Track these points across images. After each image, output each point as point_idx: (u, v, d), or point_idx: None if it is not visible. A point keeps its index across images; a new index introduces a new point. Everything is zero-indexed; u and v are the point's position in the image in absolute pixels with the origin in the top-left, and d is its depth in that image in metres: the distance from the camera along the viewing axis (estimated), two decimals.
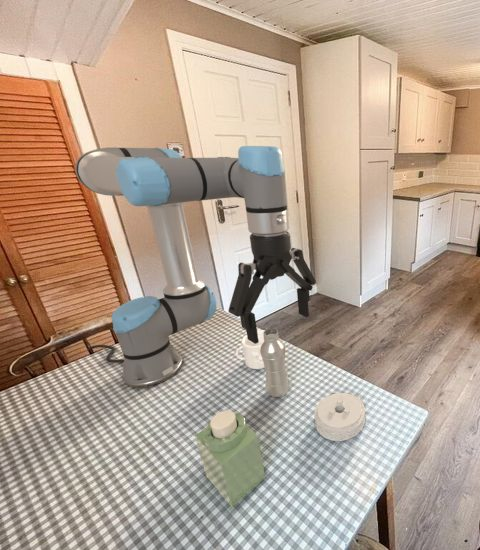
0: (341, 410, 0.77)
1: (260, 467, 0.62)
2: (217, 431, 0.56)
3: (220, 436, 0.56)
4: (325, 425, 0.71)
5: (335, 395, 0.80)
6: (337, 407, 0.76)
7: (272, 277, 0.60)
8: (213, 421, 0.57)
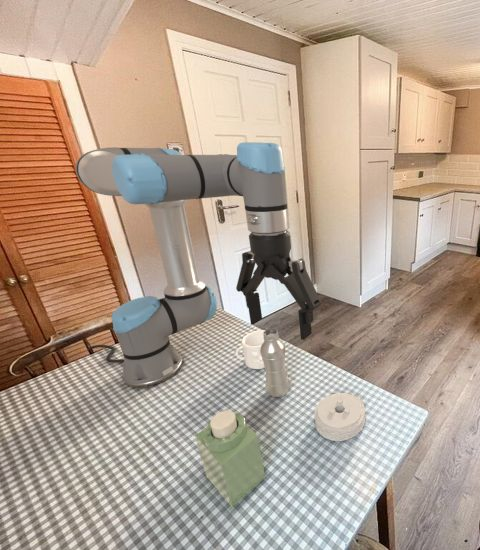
0: (341, 410, 0.77)
1: (260, 467, 0.62)
2: (217, 431, 0.56)
3: (220, 436, 0.56)
4: (325, 425, 0.71)
5: (335, 395, 0.80)
6: (337, 407, 0.76)
7: (265, 275, 0.60)
8: (213, 421, 0.57)
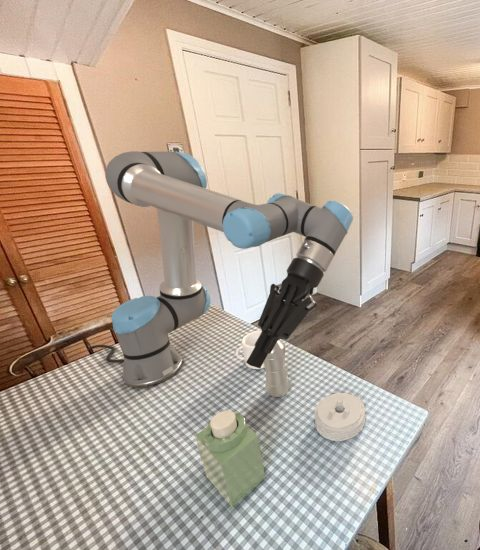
0: (341, 410, 0.77)
1: (260, 467, 0.62)
2: (217, 431, 0.56)
3: (220, 436, 0.56)
4: (325, 425, 0.71)
5: (335, 395, 0.80)
6: (337, 407, 0.76)
7: None
8: (213, 421, 0.57)
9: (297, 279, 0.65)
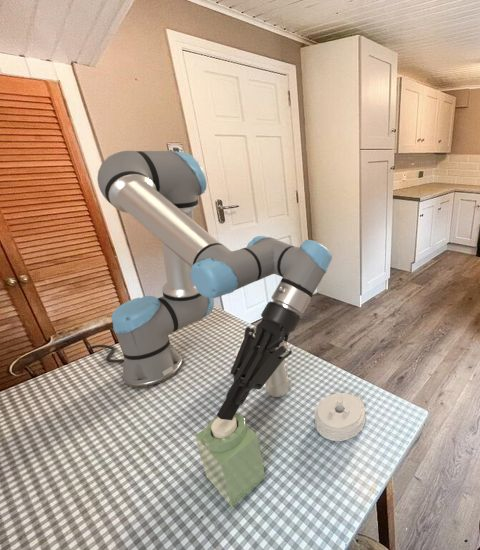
0: (341, 410, 0.77)
1: (260, 467, 0.62)
2: (218, 435, 0.56)
3: None
4: (325, 425, 0.71)
5: (335, 395, 0.80)
6: (337, 407, 0.76)
7: None
8: (214, 425, 0.58)
9: (272, 324, 0.62)
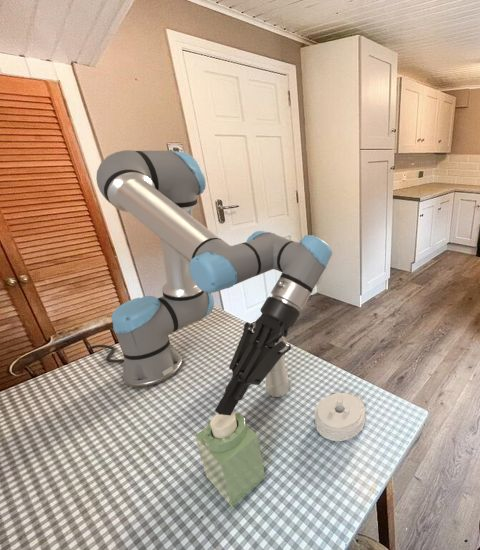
0: (341, 410, 0.77)
1: (260, 467, 0.62)
2: (217, 431, 0.56)
3: (220, 436, 0.56)
4: (325, 425, 0.71)
5: (335, 395, 0.80)
6: (337, 407, 0.76)
7: None
8: (213, 421, 0.57)
9: (271, 319, 0.62)
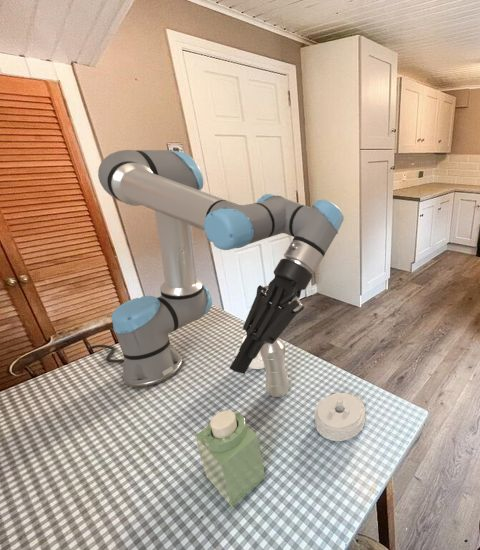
0: (341, 410, 0.77)
1: (260, 467, 0.62)
2: (217, 431, 0.56)
3: (220, 436, 0.56)
4: (325, 425, 0.71)
5: (335, 395, 0.80)
6: (337, 407, 0.76)
7: None
8: (213, 421, 0.57)
9: (284, 281, 0.62)
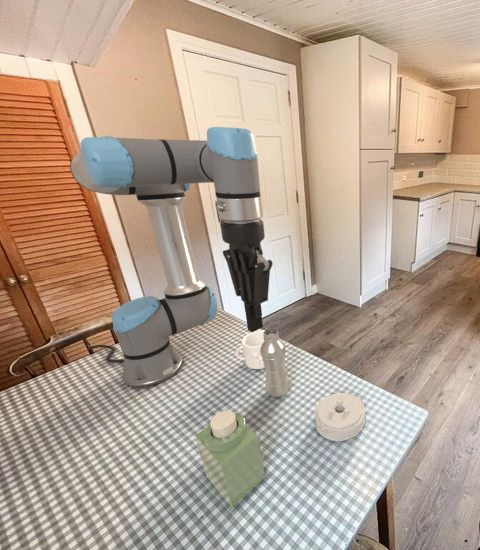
0: (341, 410, 0.77)
1: (260, 467, 0.62)
2: (217, 431, 0.56)
3: (220, 436, 0.56)
4: (325, 425, 0.71)
5: (335, 395, 0.80)
6: (337, 407, 0.76)
7: None
8: (213, 421, 0.57)
9: None
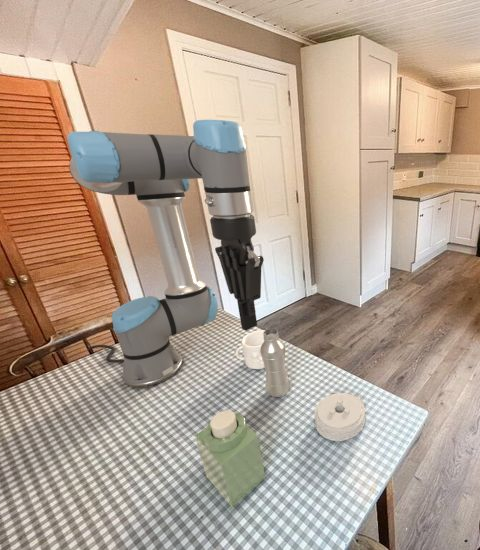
0: (341, 410, 0.77)
1: (260, 467, 0.62)
2: (217, 431, 0.56)
3: (220, 436, 0.56)
4: (325, 425, 0.71)
5: (335, 395, 0.80)
6: (337, 407, 0.76)
7: None
8: (213, 421, 0.57)
9: None
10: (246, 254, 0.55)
